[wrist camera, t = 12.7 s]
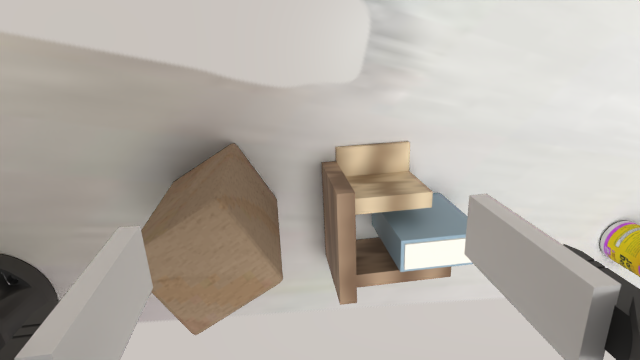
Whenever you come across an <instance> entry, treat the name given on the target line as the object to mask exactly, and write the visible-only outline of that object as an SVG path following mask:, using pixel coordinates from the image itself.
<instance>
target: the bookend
mask: <svg viewBox="0 0 640 360" xmlns="http://www.w3.org/2000/svg"><path fill="white" fill-rule="evenodd" d="M409 159H410V142H408V141H407V142H394V143H381V144H368V145H355V146H342V147H336V162H337V164H338V165H339V167H340V169H341V170H342V172H343V173H344V175H345V177H346V178H347V180H348V182H349V183H350V185H351V187H352V188H353V190H354V192H355V215H358V214H368V213H379V212H389V211H400V210H410V209H421V208H431V207H432V197H433V192H432V191H431V190H430V189H429V188H428V187H427V186H426V185H424V184H423V183H422V182H421V181H420V180H419V179H418V178H416V177H415V176H414V175H413V174H412V173H411V172H410V171H409Z"/></svg>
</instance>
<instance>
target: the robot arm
mask: <svg viewBox="0 0 640 360" xmlns="http://www.w3.org/2000/svg"><path fill="white" fill-rule="evenodd" d="M464 254H465V255H466V256H467V257H468V258H469V260H470V261H471V262H472V263H473V264H474V265H475V266H476V267H477V268H478V269H479V270H480V271H481V272H482V273H483V274H484V275H485V276H486V277H487V278H488V280H489V281H490V282H491V283H492V284H493V285H494V286H495V287H496V288H497V289H498V290H499V291H500V292H501V293H502V294H503V295H504V296H505V297H506V298H507V300H508V301H509V302H510V303H511V304H512V305H513V306H514V307H515V308H516V309H517V310H518V311H519V312H520V313H521V314H522V315H523V316H524V317H525V318H526V320H527V321H528V322H529V323H530V324H531V325H532V326H533V327H534V328H535V329H536V330H537V331H538V332H539V333H540V334H541V335H542V336H543V337H544V338H545V339H546V340H547V341H548V343H549V344H550V345H551V346H552V347H553V348H554V349H555V350H556V351H557V352H558V353H559V354H560V355H561V356H562V357H563V358H564V359H565V360H603V357H604V353H605V350H606V351H607V352H609V353H610V354H611V355H612V356H613V357H614V358H616V360H640V289H639V288H637V287H636V286H634V285H633V284H631V283H629V282H628V281H626V280H625V279H623V278H622V277H620V276H619V275H617V274H616V273H614V272H613V271H611V270H610V269H608V268H605V266H603V265H602V264H600V263H599V262H597V261H594V259H593V258H591V257H590V256H588V255H587V254H585V253H584V252H582V251H580V250H577V249H575V248H572V247H570V246H568V245H565V244H564V245H562V244H561V243H559V242H558V241H556V240H555V239H553V238H552V237H550V236H549V235H547V234H546V233H544V232H543V231H541V230H540V229H538V228H537V227H535V226H534V225H532V224H531V223H529V222H528V221H527V220H525V219H524V218H522V217H521V216H519V215H518V214H516V213H515V212H513V211H512V210H510V209H509V208H507V207H506V206H504V205H503V204H501V203H500V202H498V201H497V200H495V199H494V198H492V197H491V196H489V195H488V194H479V195H469V207H468V218H467V229H466V240H465V252H464ZM152 289H153V285H152V280H151V275H150V270H149V266H148V261H147V256H146V251H145V247H144V242H143V237H142V232H141V228H140V225H139V226H128V227H119V228H118V229H117V230H116V231H115V233H114V234H113V235H112V236H111V238H110V239H109V240H108V242H107V243H106V244H105V245H104V247H103V248H102V249H101V250H100V252H99V253H98V254H97V255H96V257H95V258H94V259H93V260H92V262H91V263H90V264H89V265H88V267H87V268H86V269H85V270H84V272H83V273H82V274H81V275H80V277H79V278H78V279H77V280H76V282H75V283H74V284H73V285H72V287H71V288H70V289H69V290H68V292H67V293H66V294H65V295H64V297H63V298H62V299H61V300H57V296H56V293H55V291H54V289H53V287H52V286H51V284H50V283H49V281H48V280H47V279H46V278H45V277H44V276H43V275H42V274H41V273H40V272H39V271H38V270H36V269H35V268H34V267H32V266H31V265H29V264H27V263H25V262H23V261H21V260H19V259H16V258H13V257H10V256H6V255H1V254H0V360H120V359H121V357H122V355H123V352H124V350H125V348H126V346H127V344H128V341H129V339H130V337H131V335H132V332H133V331H134V328H135V326H136V324H137V322H138V320H139V317H140V315H141V313H142V311H143V309H144V307H145V304H146V302H147V300H148V298H149V296H150V293H151V291H152Z"/></svg>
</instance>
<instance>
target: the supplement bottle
mask: <svg viewBox="0 0 640 360" xmlns="http://www.w3.org/2000/svg"><path fill="white" fill-rule="evenodd" d="M600 247H601V250H602V252H603V253H604V254H605V255H606V256H607V257H609V258H610V259H612V260H613V261H615V262H617V263H618V264H620V265H621V266H623V267H625V268H626V269H628V270H629V271H631V272H633V273H634V274H636V275H638V276H639V277H640V226H639V225H637V224H635V223H633V222H630V221H620V222H617V223H615V224H613V225H612V226H610V227H609V228H608V229H607V230H606V231H605V233H604V234H603V236H602V238H601V242H600Z"/></svg>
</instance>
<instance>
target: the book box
mask: <svg viewBox="0 0 640 360" xmlns="http://www.w3.org/2000/svg"><path fill="white" fill-rule="evenodd" d="M467 218H468V216H466V215H465V214H464V213H463V212H462V211H460V210H459V209H458V208H457V207H456V206H455V205H453V204H452V203H451V202H450V201H449V200H448V199H446V198H445V197H444V196H443V195H442V194H440V193H433V197H432V207H431V208H421V209H410V210H400V211H389V212H379V213H372V225H373V227H374V228H375V230H376V232H377V234H378V235H379V237H380V239H381V240H382V242H383V244H384V245H385V247H386V249H387V250H388V252H389V254H390V255H391V257H392V259H393V260H394V262H395V264H396V266H397V267H398V269H399V271H400V272H405V271H414V270H423V269H432V268H441V267H450V266H459V265H469V264H473V263H472V262H471V261H470V260H469V258H468V257H467V256H466V255H465V254H464V252H465V240H466V229H467Z"/></svg>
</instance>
